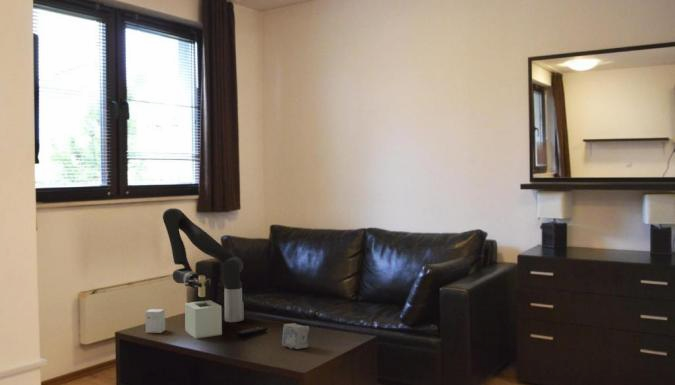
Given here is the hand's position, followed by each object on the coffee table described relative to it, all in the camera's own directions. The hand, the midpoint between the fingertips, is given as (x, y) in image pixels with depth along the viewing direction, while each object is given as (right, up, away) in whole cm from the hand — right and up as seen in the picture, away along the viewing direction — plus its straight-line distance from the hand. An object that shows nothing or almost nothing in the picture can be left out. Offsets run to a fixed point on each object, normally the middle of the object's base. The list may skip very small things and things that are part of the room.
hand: (203, 285), depth 292 cm
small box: (-25, -24, +6) cm, 36 cm away
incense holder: (+46, -25, -23) cm, 57 cm away
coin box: (-1, -24, +2) cm, 24 cm away
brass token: (-2, -6, +3) cm, 7 cm away
